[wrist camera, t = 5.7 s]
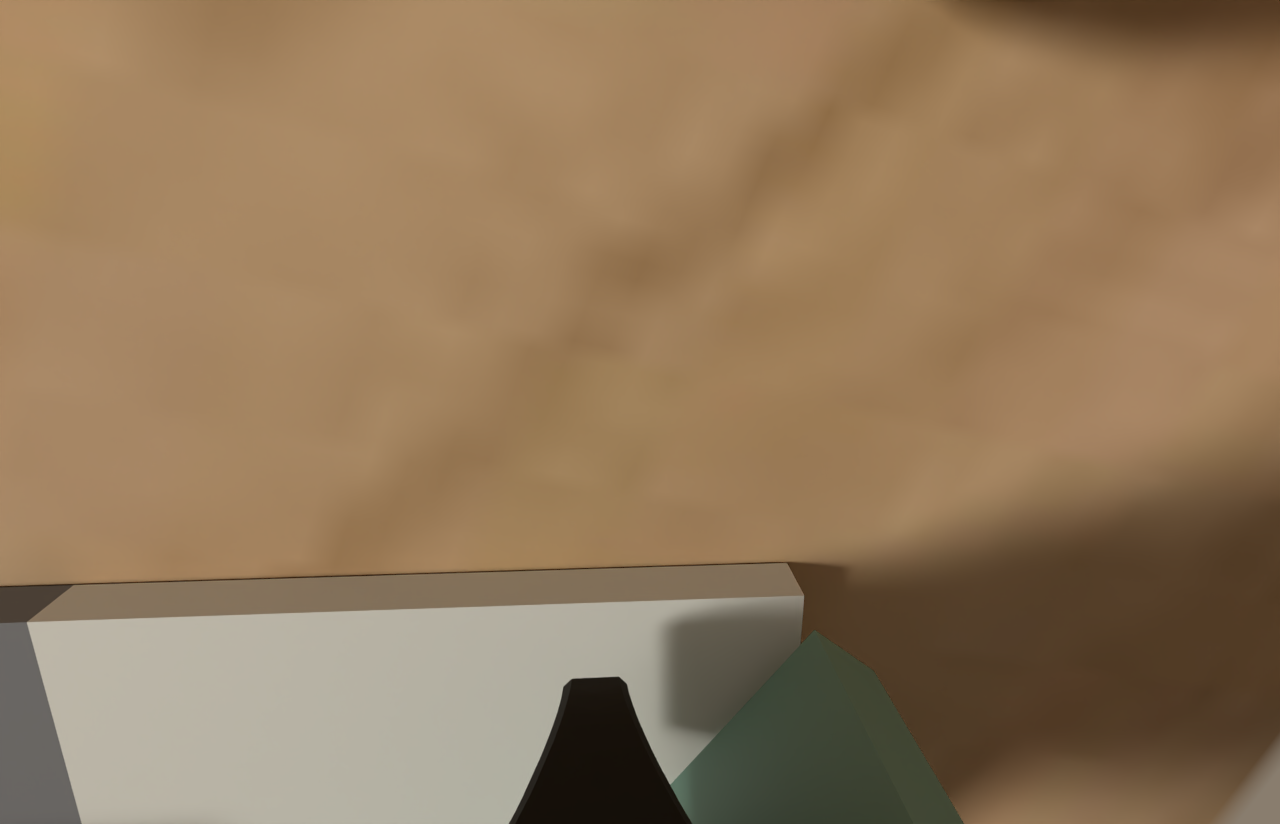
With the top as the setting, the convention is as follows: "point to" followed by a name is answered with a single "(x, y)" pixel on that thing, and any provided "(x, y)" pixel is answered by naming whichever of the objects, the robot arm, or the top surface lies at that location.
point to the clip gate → (815, 753)
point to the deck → (359, 688)
